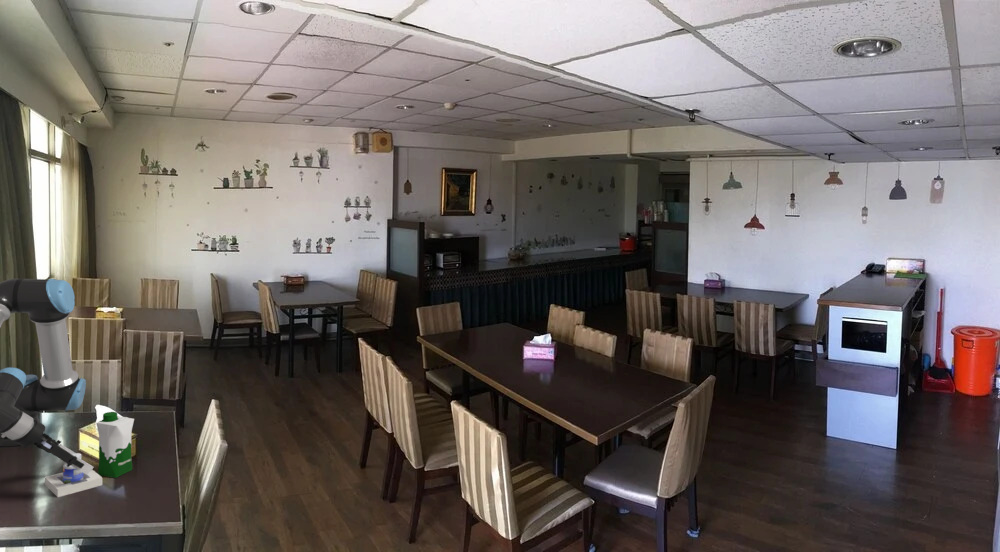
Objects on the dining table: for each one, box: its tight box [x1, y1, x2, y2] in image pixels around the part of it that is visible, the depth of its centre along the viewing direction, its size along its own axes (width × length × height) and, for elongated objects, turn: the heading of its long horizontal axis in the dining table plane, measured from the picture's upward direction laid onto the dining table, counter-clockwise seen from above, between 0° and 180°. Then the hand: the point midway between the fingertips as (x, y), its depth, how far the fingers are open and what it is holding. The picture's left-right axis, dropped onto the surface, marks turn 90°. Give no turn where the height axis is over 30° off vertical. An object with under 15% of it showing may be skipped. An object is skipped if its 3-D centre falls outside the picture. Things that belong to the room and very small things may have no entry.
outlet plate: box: [44, 469, 103, 498], centre depth 192 cm, size 12×12×3 cm
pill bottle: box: [62, 452, 84, 484], centre depth 192 cm, size 5×5×10 cm
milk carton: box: [95, 411, 135, 479], centre depth 202 cm, size 9×9×20 cm
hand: (82, 464), depth 194 cm, fingers open, 13 cm apart
